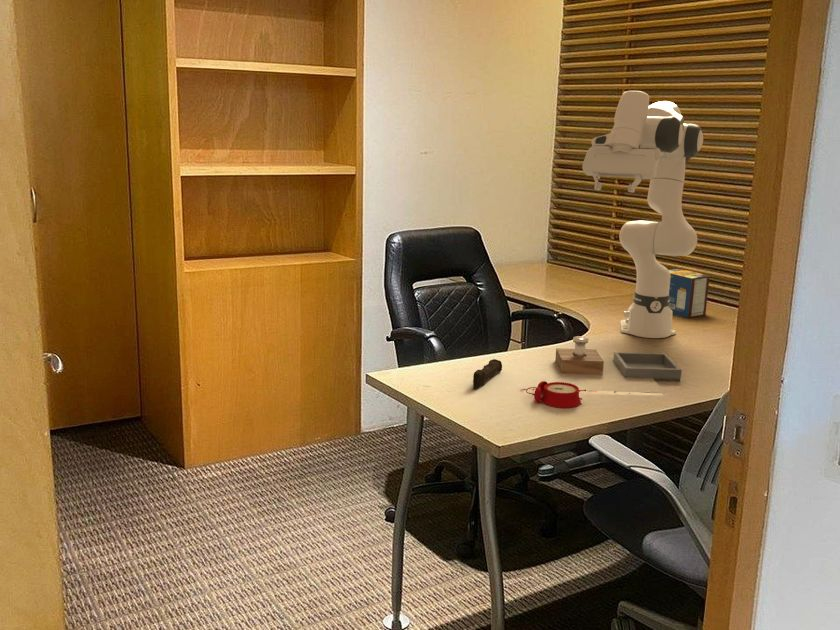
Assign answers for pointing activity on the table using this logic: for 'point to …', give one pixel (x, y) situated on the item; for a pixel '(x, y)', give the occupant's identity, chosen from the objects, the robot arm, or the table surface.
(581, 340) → the pin
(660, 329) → the robot arm
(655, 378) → the tray
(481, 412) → the table surface
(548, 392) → the alarm clock
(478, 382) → the hand tool
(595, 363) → the block
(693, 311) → the protein box
